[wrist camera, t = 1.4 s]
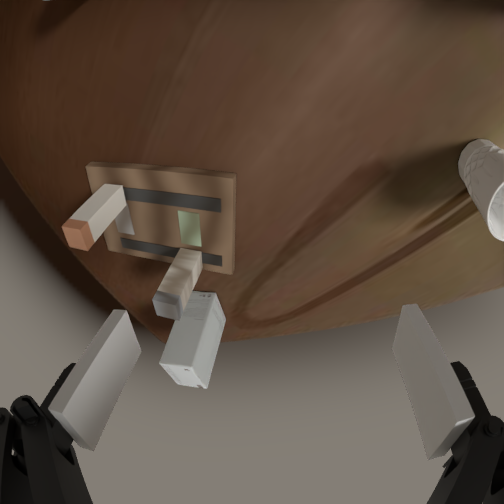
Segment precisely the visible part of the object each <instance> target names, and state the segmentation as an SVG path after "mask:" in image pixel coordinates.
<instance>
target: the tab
mask: <svg viewBox="0 0 504 504" xmlns="http://www.w3.org/2000/svg"><path fill="white" fill-rule="evenodd" d="M125 206H126V200H125V195H124V190H123V185H112V184H104V185H103V186H102V187H101V188H99V189H98V190H97V191H96V192H95V193H94V194H93V195H92V196H91V197H90V198H89V199H88V200H87V201H86V202H85V203H84V204H83V205H82V206H81V207H80V208H79V209H78V210H77V211H76V212H75V213H74V214H73V215H72V216H71V217H70V218H69V219H68V220H67V221H66V222H65V223H64V224H63V225H62V229H63V231H64V234H65V237H66V239H67V242H68V244H69V247H73V248H77V249H81V250H86V251H88V250H89V249H90V248H91V246H92V245H93V244H94V243H95V241H96V240H97V239H98V238H99V237H100V235H101V234H102V233H103V232H104V231H105V229H106V228H107V227H108V226H109V225H110V223H111V222H112V221H113V220H114V219H115V218H116V216H117V215H118V214H119V213H120V212H121V211H122V210H123V208H124V207H125Z"/></svg>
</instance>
